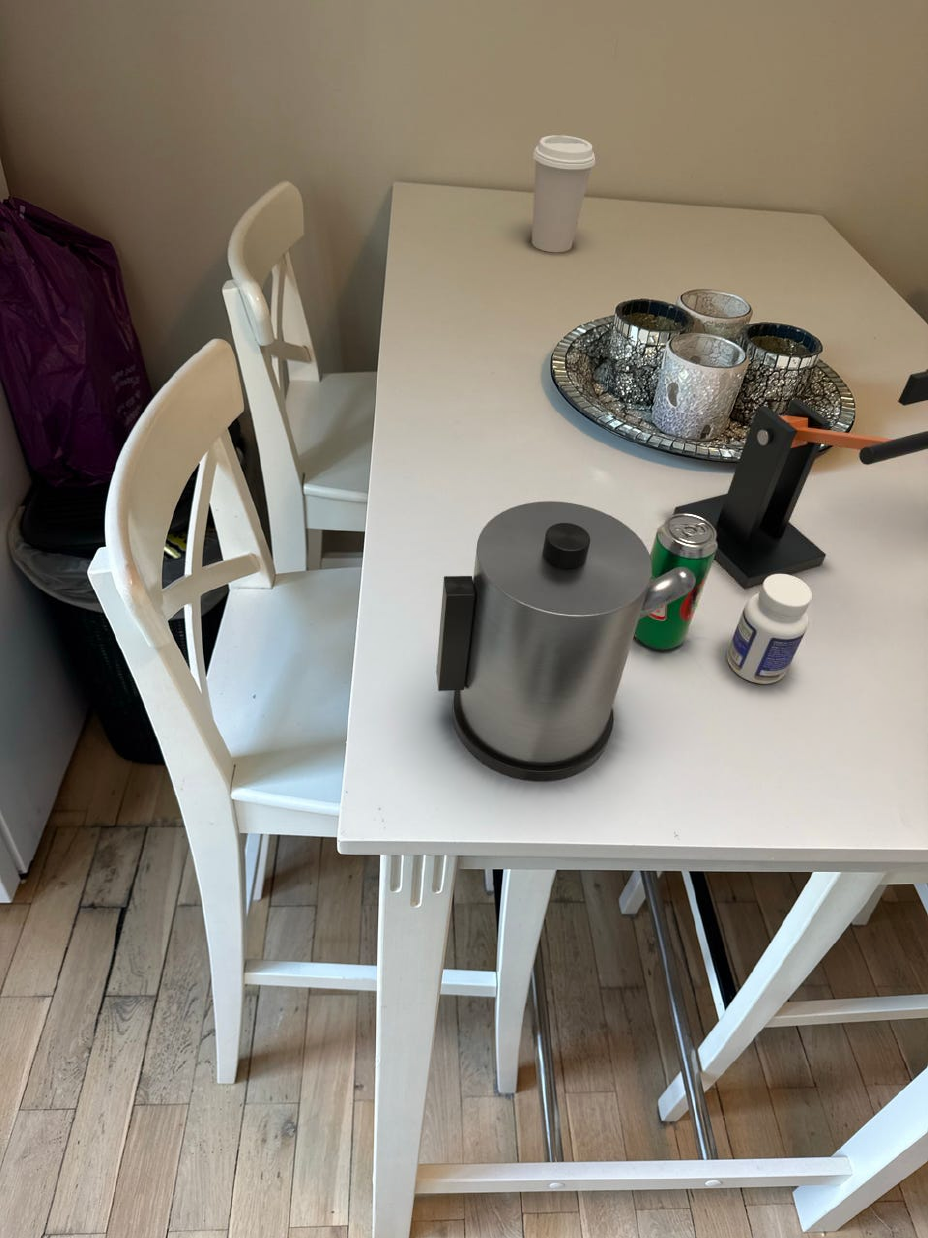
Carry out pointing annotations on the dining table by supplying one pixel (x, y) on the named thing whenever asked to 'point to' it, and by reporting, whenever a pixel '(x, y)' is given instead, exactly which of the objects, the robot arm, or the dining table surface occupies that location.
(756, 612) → the pill bottle
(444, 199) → the dining table surface
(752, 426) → the switch bracket
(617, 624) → the kettle
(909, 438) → the orange switch lever
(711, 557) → the soda can
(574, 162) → the coffee cup
